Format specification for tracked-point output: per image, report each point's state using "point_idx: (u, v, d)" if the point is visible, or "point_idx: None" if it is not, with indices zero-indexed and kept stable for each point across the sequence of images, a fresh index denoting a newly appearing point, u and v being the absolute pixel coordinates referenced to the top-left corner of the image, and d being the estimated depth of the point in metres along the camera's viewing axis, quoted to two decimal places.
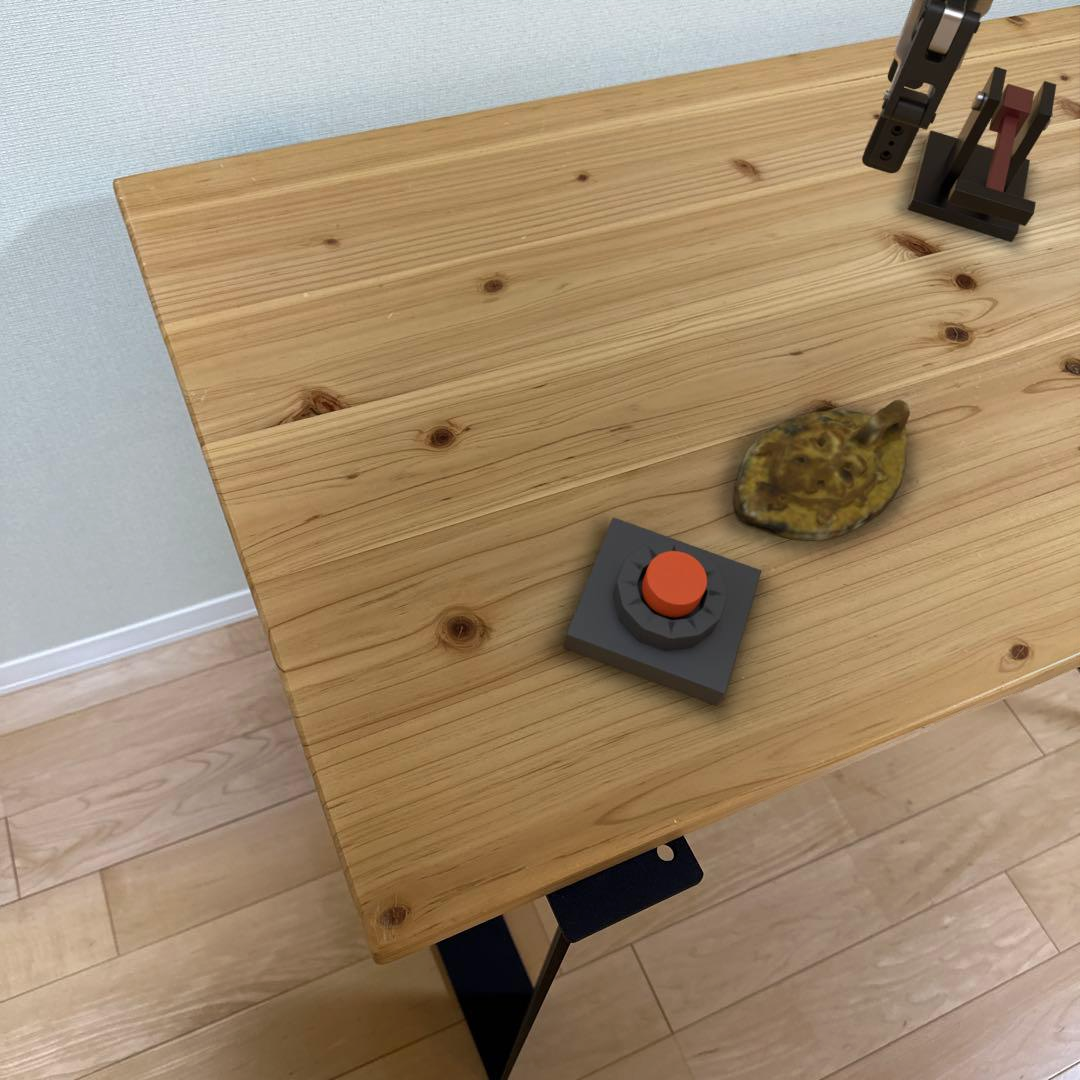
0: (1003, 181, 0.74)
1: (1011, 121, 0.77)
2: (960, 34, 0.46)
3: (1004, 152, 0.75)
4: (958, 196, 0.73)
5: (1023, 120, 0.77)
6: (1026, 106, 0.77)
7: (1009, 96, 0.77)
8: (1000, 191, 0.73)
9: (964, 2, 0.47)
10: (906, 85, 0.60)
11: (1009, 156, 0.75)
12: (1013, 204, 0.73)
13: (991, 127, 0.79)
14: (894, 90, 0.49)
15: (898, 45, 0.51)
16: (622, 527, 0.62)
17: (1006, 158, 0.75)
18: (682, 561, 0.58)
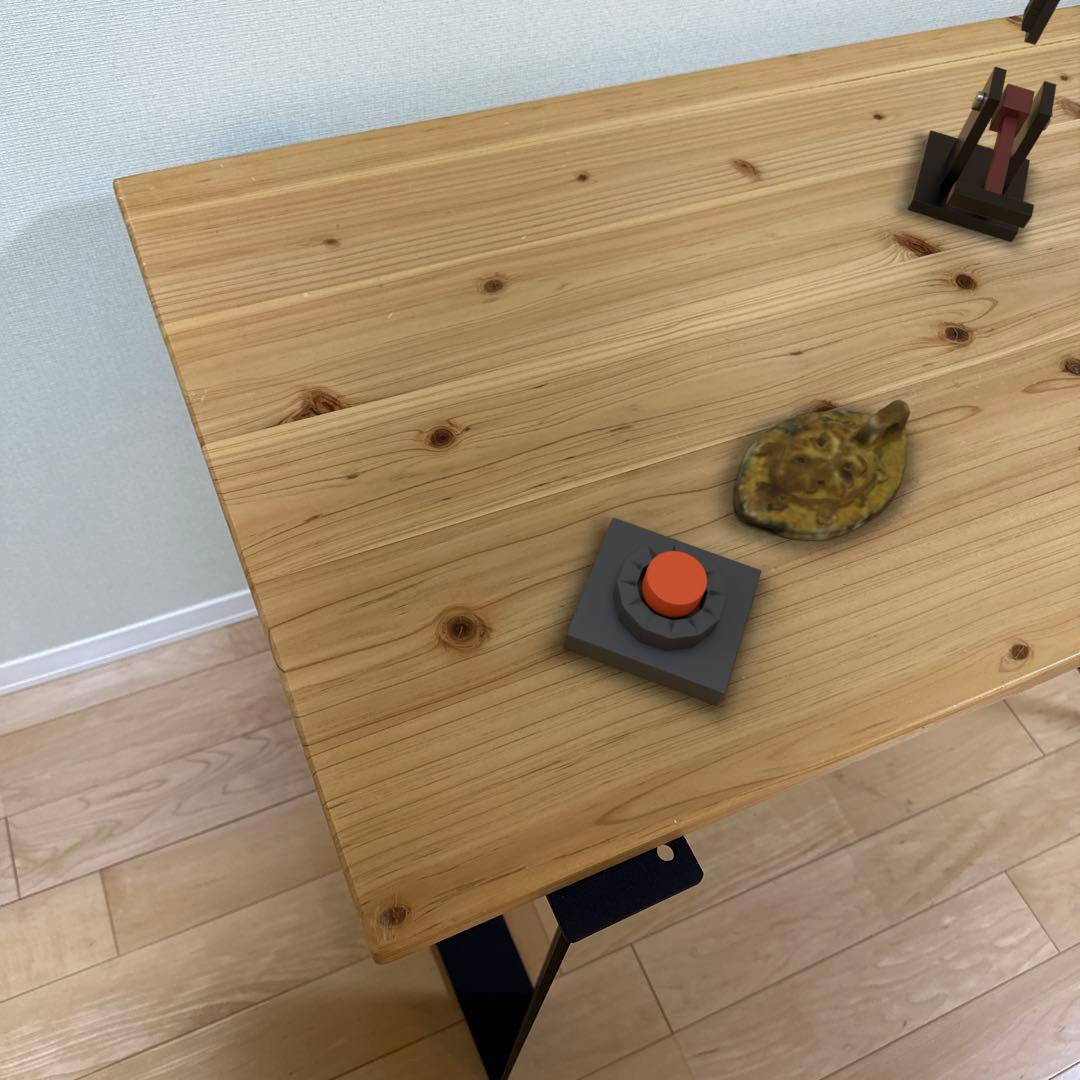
0: (1002, 183, 0.74)
1: (1011, 122, 0.77)
2: None
3: (1003, 153, 0.76)
4: (956, 199, 0.74)
5: (1023, 120, 0.77)
6: (1026, 106, 0.77)
7: (1009, 96, 0.77)
8: (999, 193, 0.74)
9: None
10: None
11: (1008, 158, 0.75)
12: (1011, 207, 0.73)
13: (991, 127, 0.79)
14: None
15: None
16: (622, 527, 0.62)
17: (1005, 160, 0.75)
18: (682, 561, 0.58)
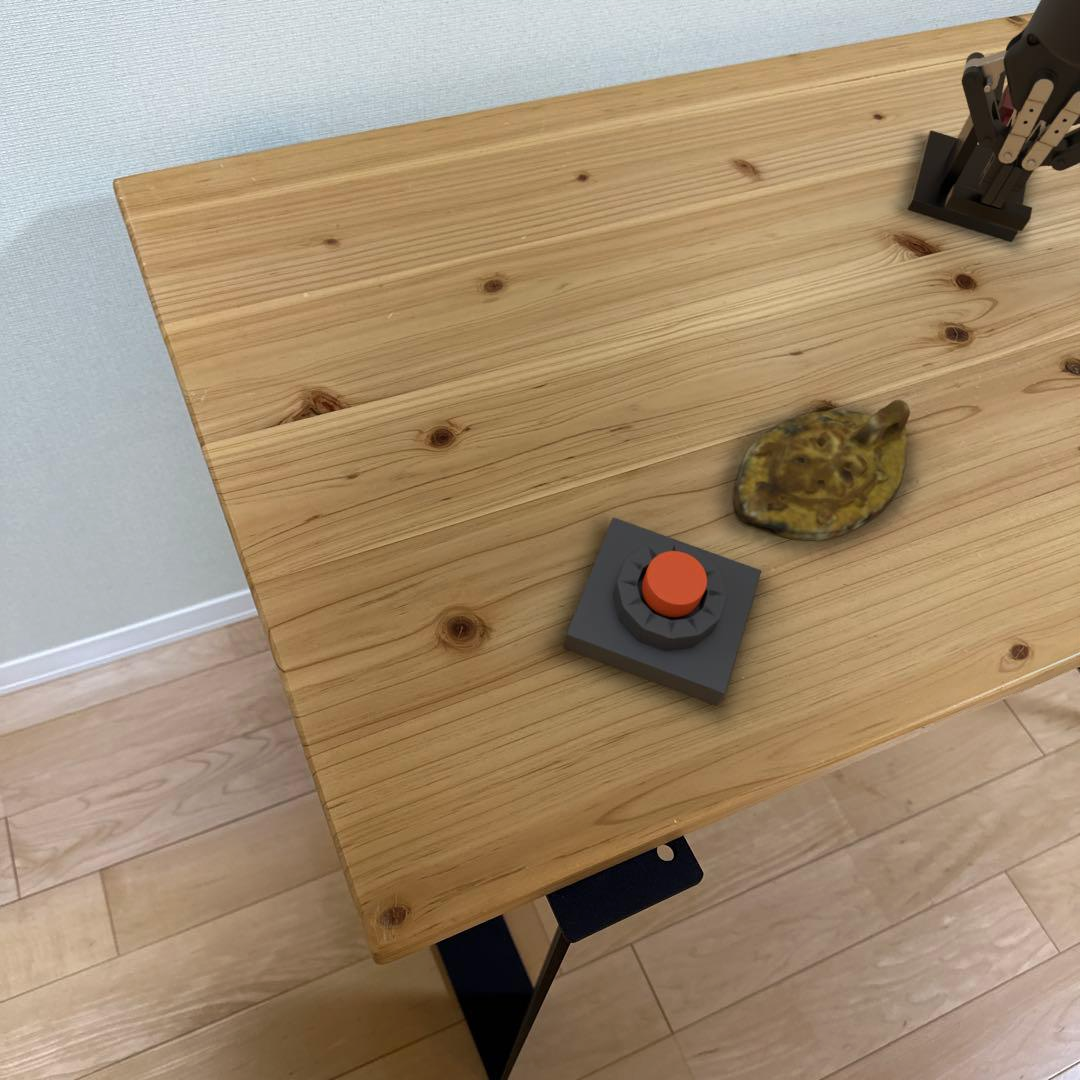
0: None
1: None
2: None
3: None
4: (955, 202, 0.74)
5: None
6: None
7: (1009, 97, 0.77)
8: None
9: (987, 62, 0.65)
10: None
11: None
12: (1009, 210, 0.73)
13: None
14: None
15: None
16: (622, 527, 0.62)
17: None
18: (682, 561, 0.58)
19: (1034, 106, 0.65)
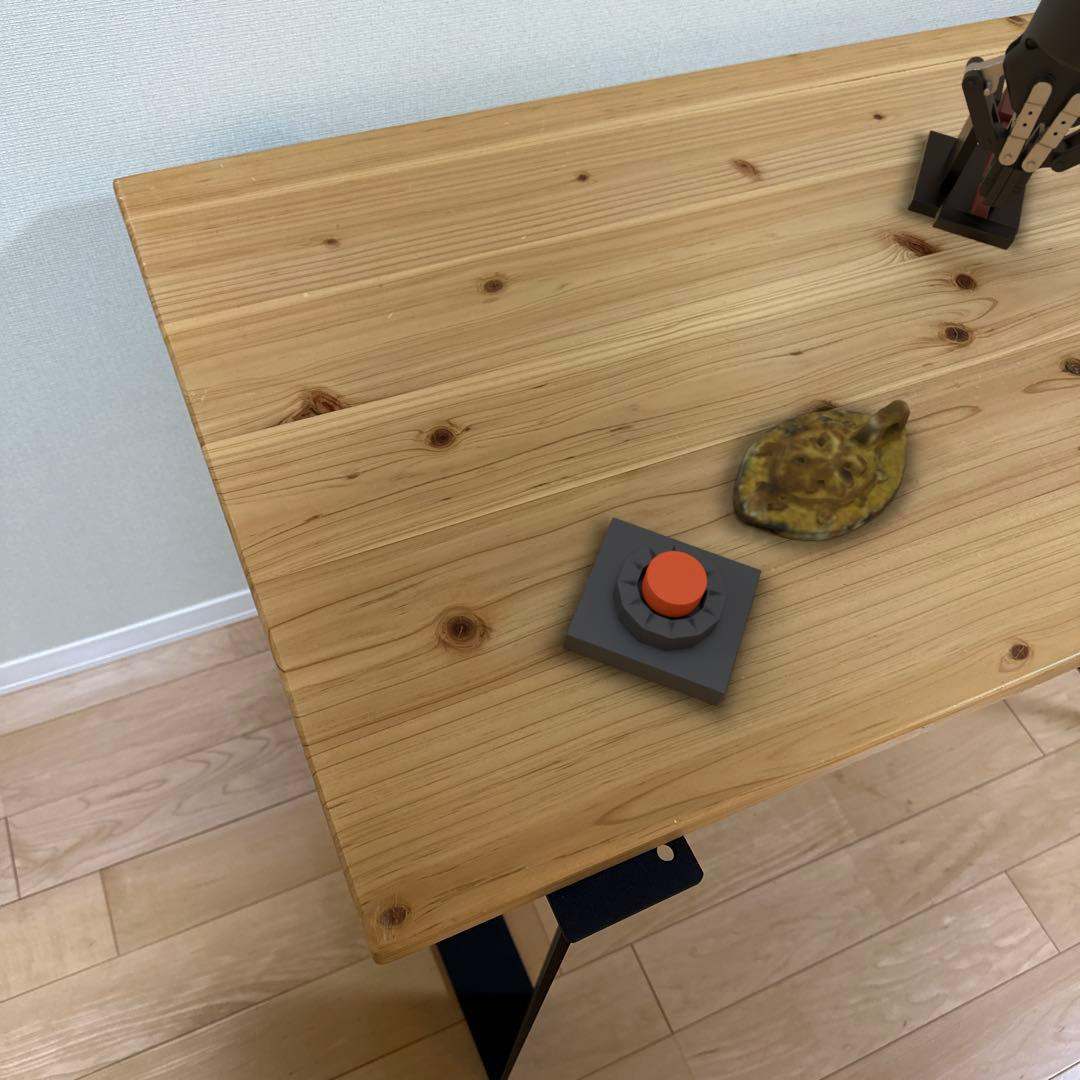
0: None
1: None
2: None
3: None
4: (941, 223, 0.76)
5: None
6: None
7: (1008, 99, 0.77)
8: (984, 216, 0.76)
9: (987, 66, 0.67)
10: None
11: None
12: (994, 233, 0.75)
13: None
14: None
15: None
16: (622, 527, 0.62)
17: None
18: (682, 561, 0.58)
19: (1033, 109, 0.67)
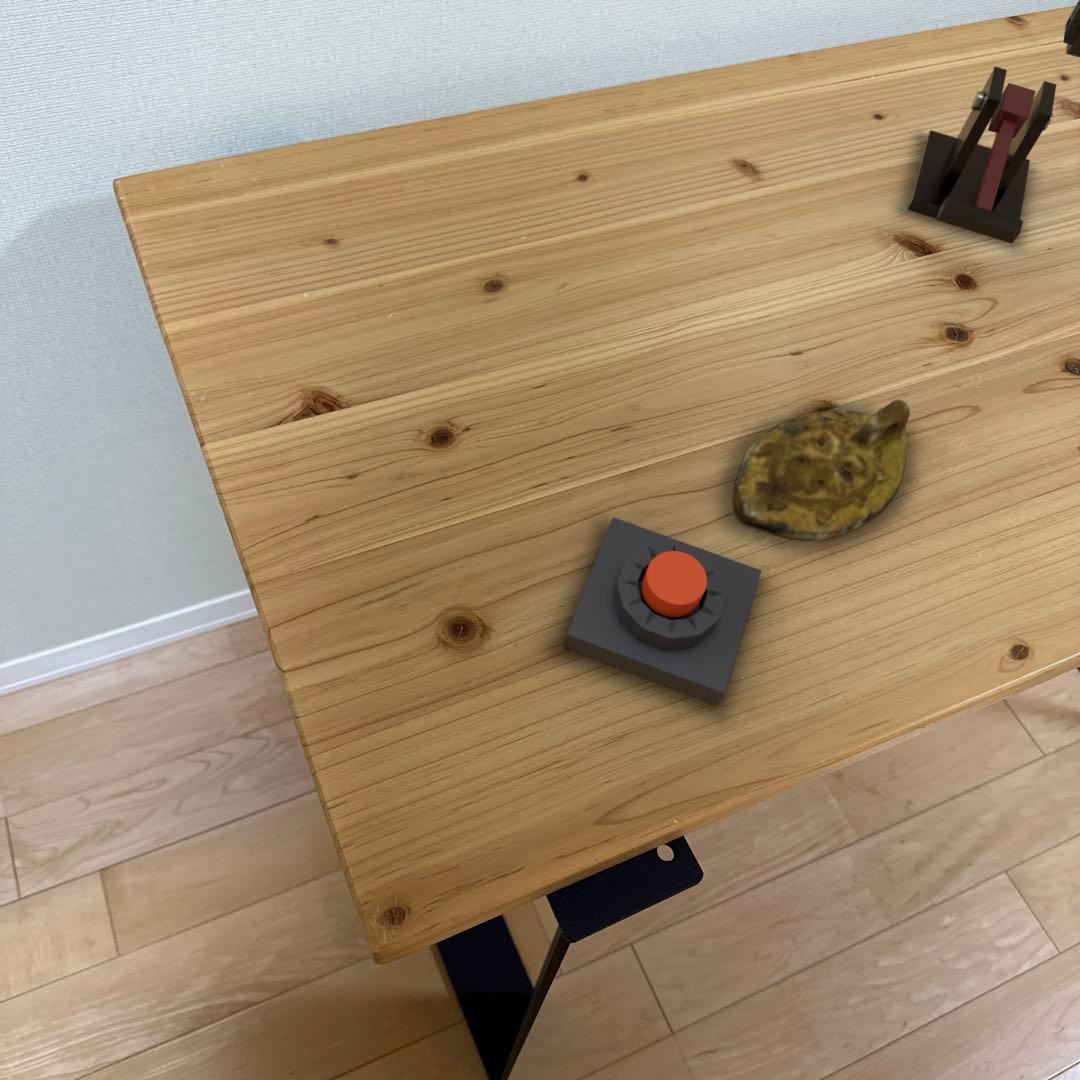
0: (993, 197, 0.75)
1: (1009, 125, 0.77)
2: None
3: (998, 163, 0.76)
4: (946, 216, 0.75)
5: (1021, 123, 0.78)
6: (1025, 109, 0.77)
7: (1008, 98, 0.77)
8: (989, 209, 0.75)
9: None
10: None
11: (1002, 168, 0.76)
12: (999, 225, 0.74)
13: (990, 128, 0.79)
14: None
15: None
16: (622, 527, 0.62)
17: (999, 170, 0.76)
18: (682, 561, 0.58)
19: None
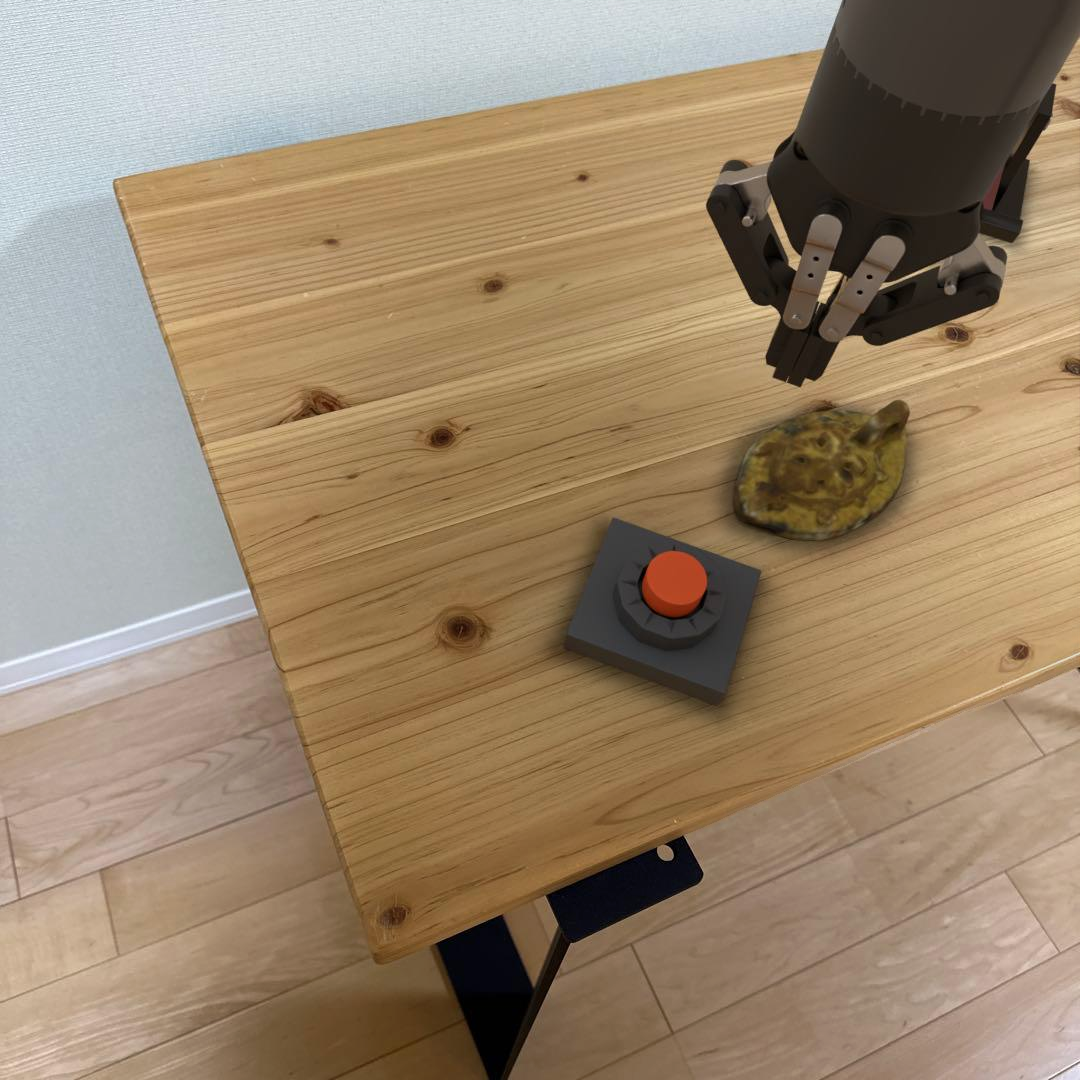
0: (993, 197, 0.75)
1: None
2: None
3: None
4: None
5: None
6: None
7: None
8: (989, 209, 0.75)
9: (744, 179, 0.40)
10: None
11: (1002, 168, 0.76)
12: (999, 224, 0.74)
13: None
14: None
15: None
16: (622, 527, 0.62)
17: None
18: (682, 561, 0.58)
19: (819, 253, 0.40)
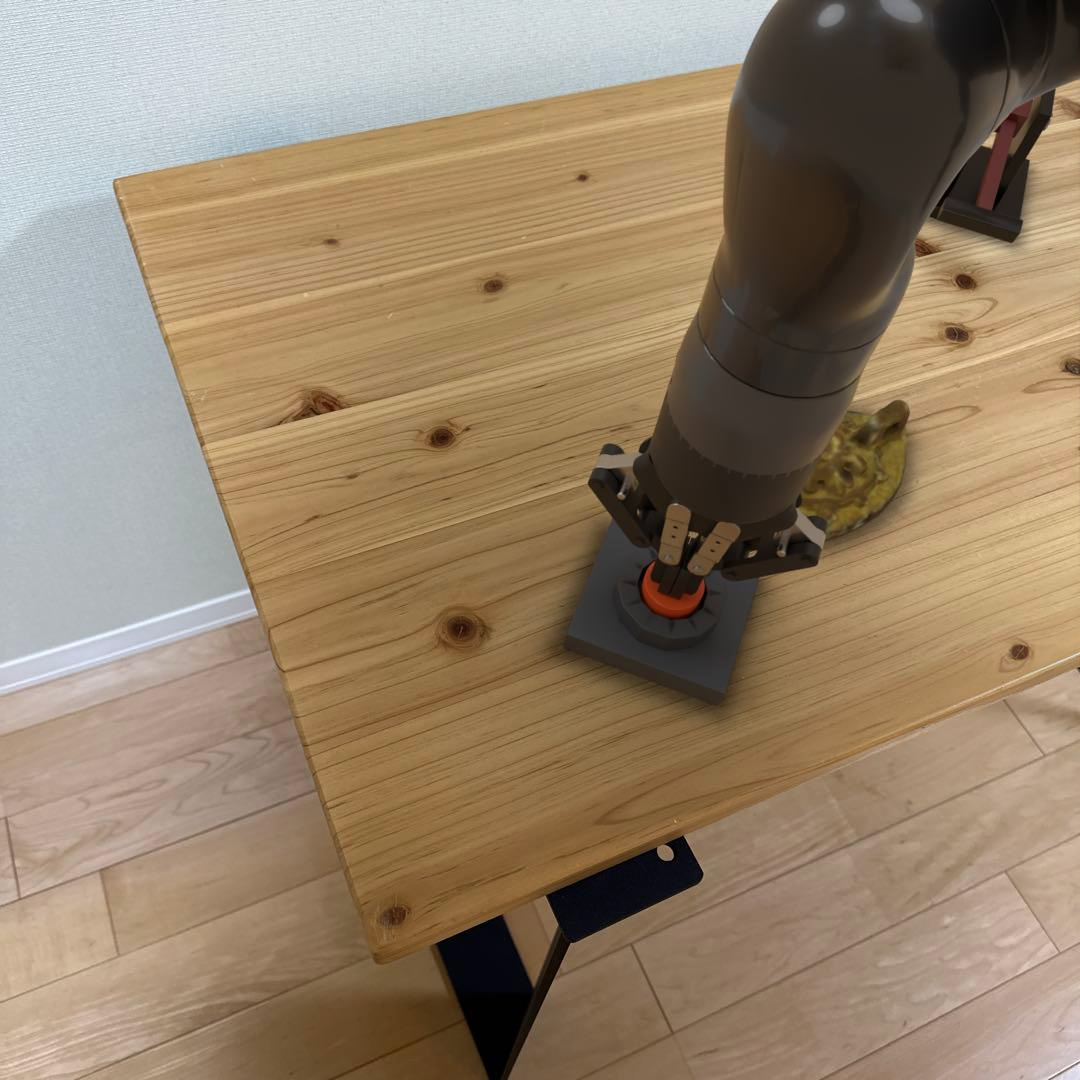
0: (993, 197, 0.75)
1: (1009, 125, 0.77)
2: None
3: (998, 163, 0.76)
4: (946, 216, 0.75)
5: (1021, 123, 0.78)
6: (1025, 109, 0.77)
7: None
8: (989, 209, 0.75)
9: (616, 466, 0.50)
10: None
11: (1002, 168, 0.76)
12: (999, 224, 0.74)
13: None
14: None
15: None
16: None
17: (999, 170, 0.76)
18: None
19: (677, 524, 0.50)
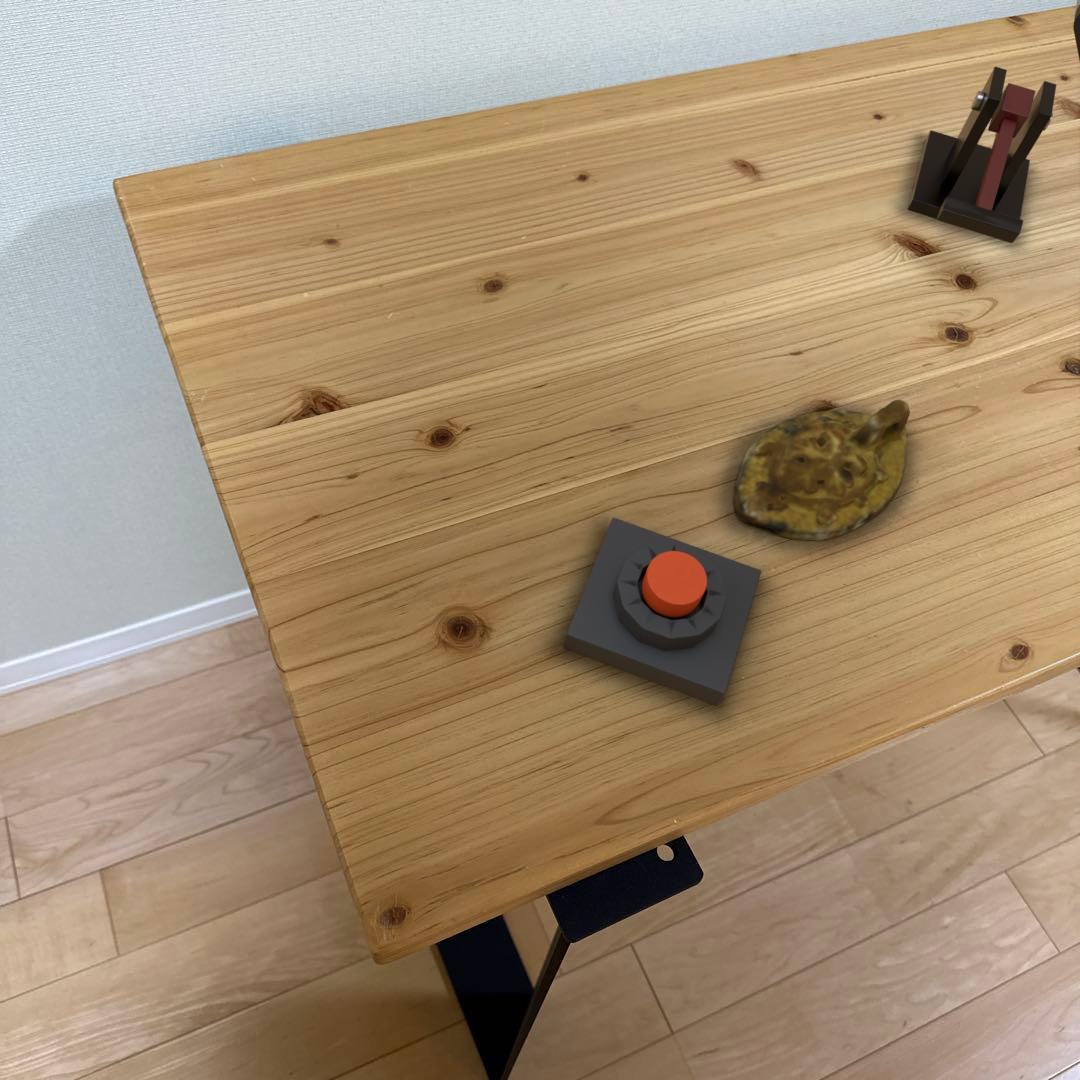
0: (993, 197, 0.75)
1: (1009, 125, 0.77)
2: None
3: (998, 163, 0.76)
4: (946, 216, 0.75)
5: (1021, 123, 0.78)
6: (1025, 109, 0.77)
7: (1008, 98, 0.77)
8: (989, 209, 0.75)
9: None
10: None
11: (1002, 168, 0.76)
12: (999, 224, 0.74)
13: (990, 128, 0.79)
14: None
15: None
16: (622, 527, 0.62)
17: (999, 170, 0.76)
18: (682, 561, 0.58)
19: None
